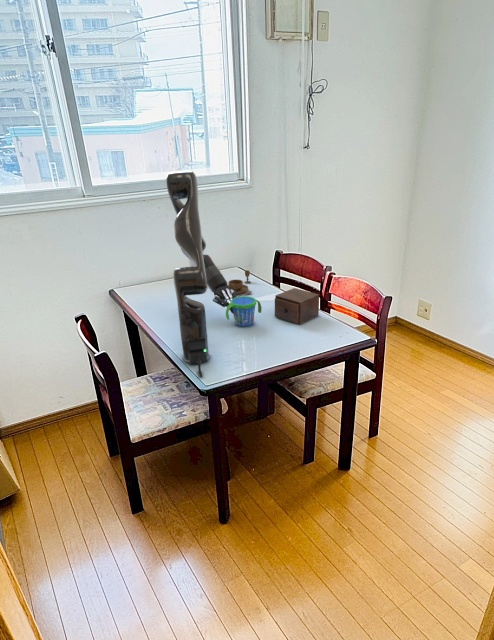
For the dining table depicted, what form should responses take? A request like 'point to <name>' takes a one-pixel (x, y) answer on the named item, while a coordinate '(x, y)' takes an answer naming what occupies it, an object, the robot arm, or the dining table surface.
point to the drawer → (287, 310)
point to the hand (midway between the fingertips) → (235, 312)
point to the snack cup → (243, 310)
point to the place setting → (240, 285)
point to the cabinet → (302, 303)
